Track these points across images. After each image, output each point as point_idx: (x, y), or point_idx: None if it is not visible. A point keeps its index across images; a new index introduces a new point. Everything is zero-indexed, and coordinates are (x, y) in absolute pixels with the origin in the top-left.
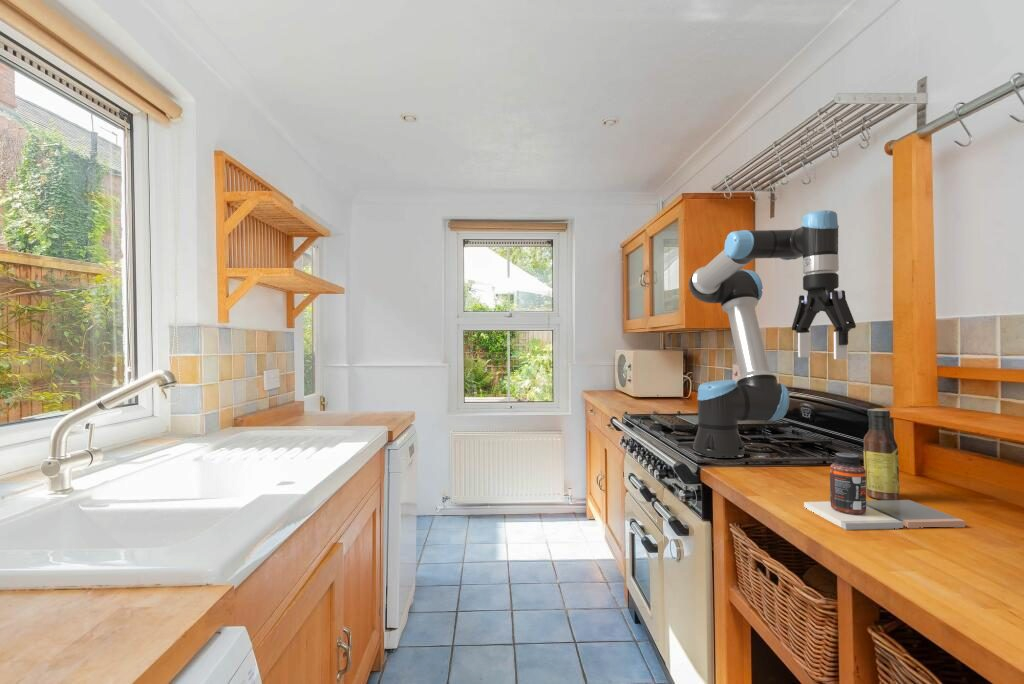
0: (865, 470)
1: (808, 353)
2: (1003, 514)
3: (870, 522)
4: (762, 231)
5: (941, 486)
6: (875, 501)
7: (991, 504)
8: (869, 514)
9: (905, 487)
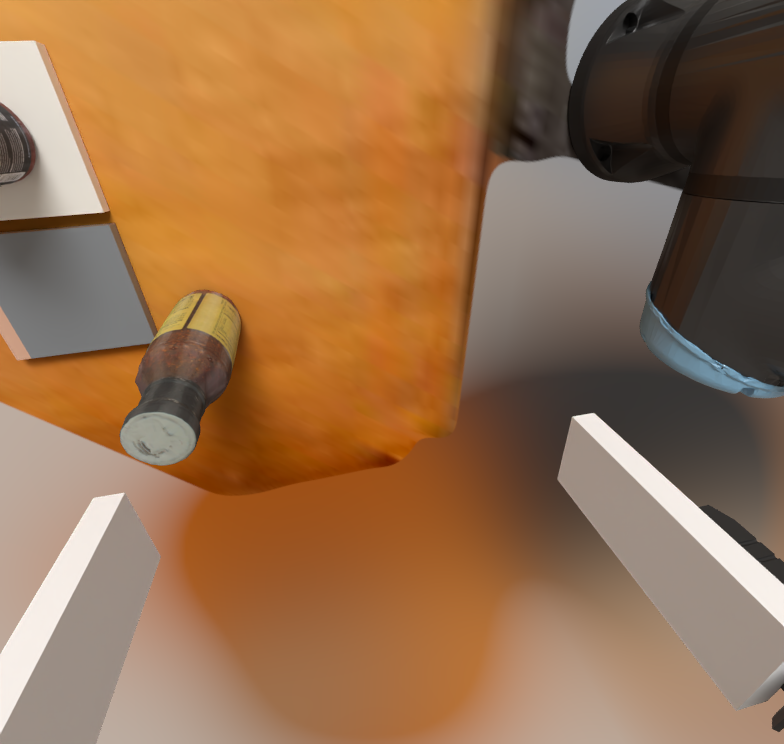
0: (200, 308)
1: (575, 491)
2: None
3: None
4: None
5: (313, 455)
6: (116, 263)
7: (207, 466)
8: None
9: (299, 398)
